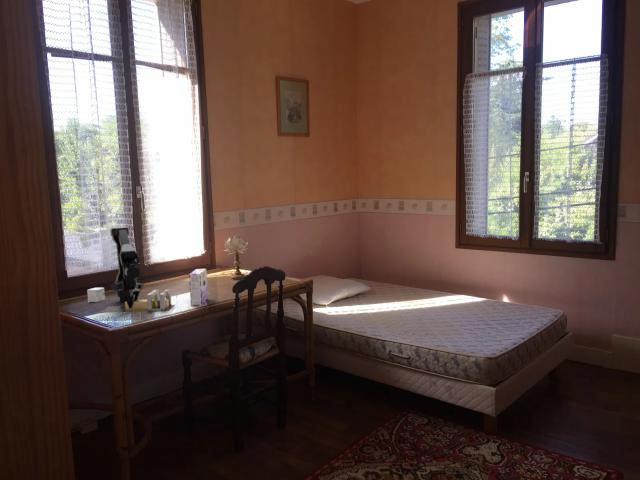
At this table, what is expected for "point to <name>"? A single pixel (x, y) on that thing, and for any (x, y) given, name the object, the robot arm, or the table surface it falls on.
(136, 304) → the brass tube
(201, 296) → the candy box
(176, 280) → the table surface
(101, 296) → the skincare box
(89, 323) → the table surface
